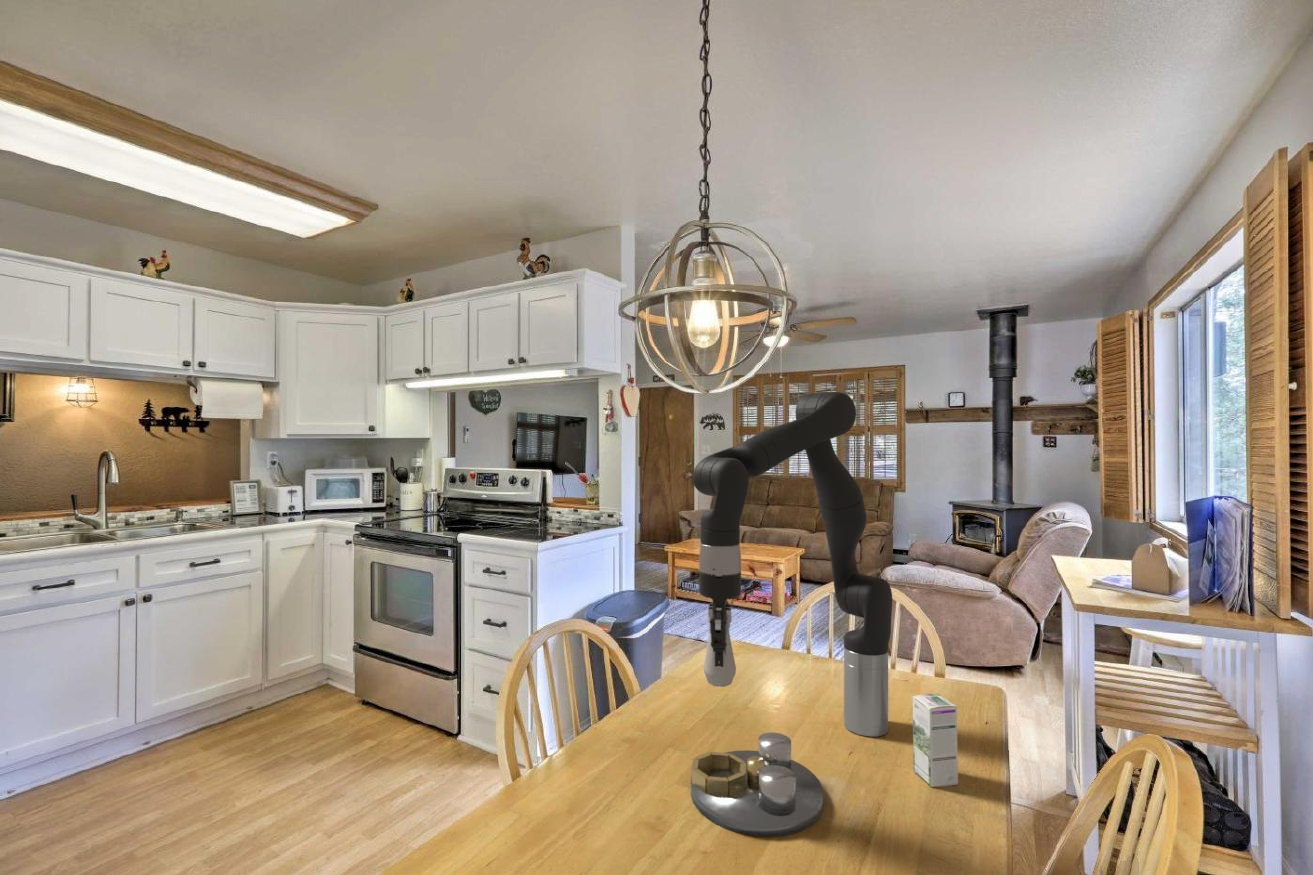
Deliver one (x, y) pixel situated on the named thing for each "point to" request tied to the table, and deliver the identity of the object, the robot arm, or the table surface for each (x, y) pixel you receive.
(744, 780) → the carrier
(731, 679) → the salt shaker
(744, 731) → the table surface
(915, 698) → the syrup box
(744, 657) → the table surface
